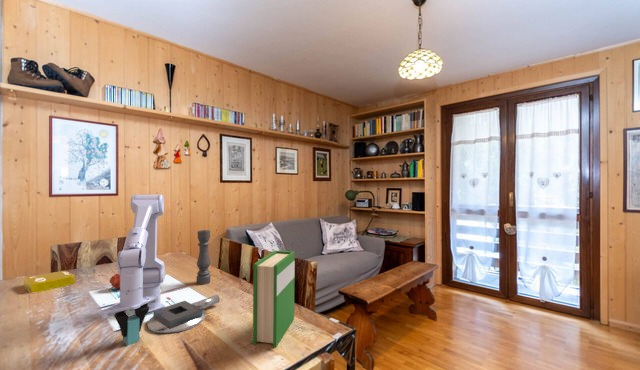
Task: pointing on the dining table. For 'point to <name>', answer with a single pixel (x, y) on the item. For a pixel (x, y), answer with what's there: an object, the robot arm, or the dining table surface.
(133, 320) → the teal rectangular prism
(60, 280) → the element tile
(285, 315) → the hardback book
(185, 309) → the rosette bracket
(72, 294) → the dining table surface
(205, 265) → the candle holder
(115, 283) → the pomegranate
